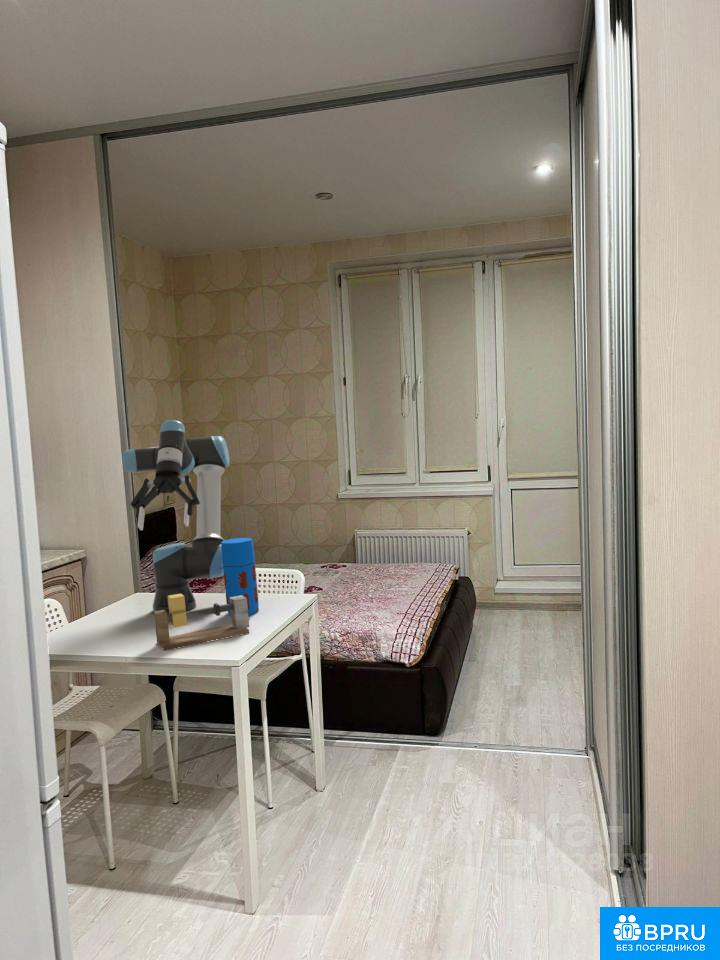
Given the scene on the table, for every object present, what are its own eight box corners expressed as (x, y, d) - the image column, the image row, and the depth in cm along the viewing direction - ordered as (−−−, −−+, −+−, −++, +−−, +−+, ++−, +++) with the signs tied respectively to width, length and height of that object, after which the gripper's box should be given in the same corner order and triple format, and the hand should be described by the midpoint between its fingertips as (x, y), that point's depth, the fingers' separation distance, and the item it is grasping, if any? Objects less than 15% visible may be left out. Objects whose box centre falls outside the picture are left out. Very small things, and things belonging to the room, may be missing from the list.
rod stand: (155, 643, 228) (151, 609, 227) (242, 626, 240) (239, 594, 239) (162, 651, 219) (158, 616, 218) (252, 632, 231) (249, 599, 230)
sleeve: (170, 624, 227) (167, 595, 226) (183, 622, 229) (180, 593, 228) (173, 627, 223) (170, 598, 222) (187, 625, 225) (184, 595, 224)
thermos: (264, 608, 262) (257, 537, 260) (251, 616, 251) (244, 542, 249) (235, 608, 265) (229, 538, 263) (222, 616, 254) (215, 543, 252)
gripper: (125, 462, 229) (116, 523, 218) (206, 455, 228) (201, 517, 217) (133, 475, 235) (125, 535, 224) (212, 468, 234) (208, 529, 223)
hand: (163, 526), depth 220 cm, fingers open, 13 cm apart
